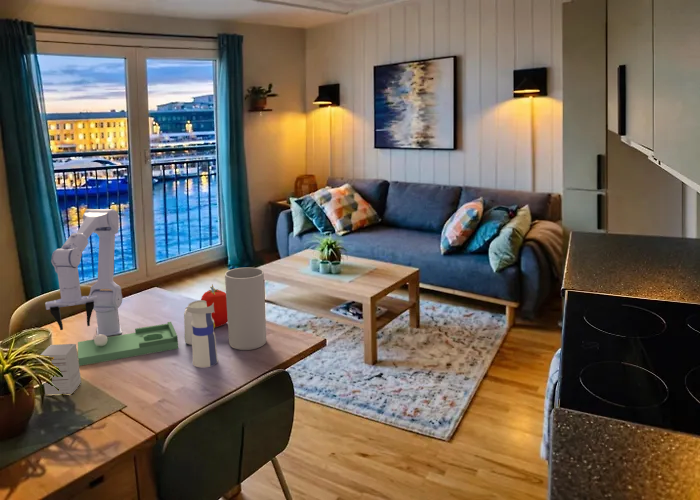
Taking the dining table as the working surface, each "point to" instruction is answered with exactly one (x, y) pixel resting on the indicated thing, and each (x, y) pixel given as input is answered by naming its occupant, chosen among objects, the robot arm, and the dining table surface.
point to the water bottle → (203, 333)
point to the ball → (100, 340)
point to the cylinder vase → (245, 308)
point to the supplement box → (64, 369)
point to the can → (188, 326)
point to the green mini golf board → (129, 344)
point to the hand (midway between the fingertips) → (75, 327)
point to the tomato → (217, 306)
